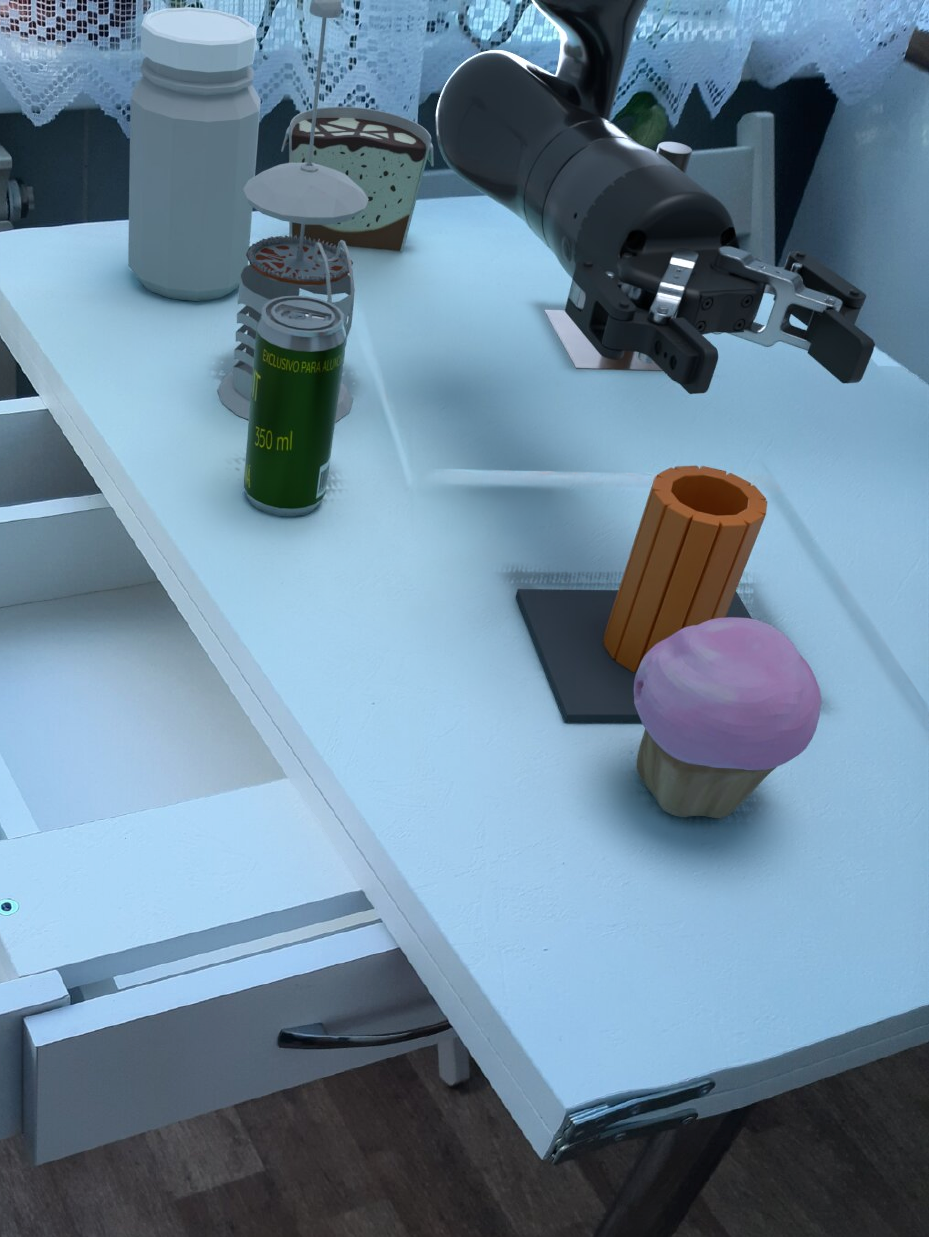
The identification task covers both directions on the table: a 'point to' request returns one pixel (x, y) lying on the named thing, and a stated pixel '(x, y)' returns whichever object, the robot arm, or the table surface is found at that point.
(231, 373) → the french press
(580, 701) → the mat
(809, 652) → the table surface
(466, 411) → the table surface
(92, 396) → the table surface
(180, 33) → the jar
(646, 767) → the cupcake
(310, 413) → the beer can
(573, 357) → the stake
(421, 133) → the food container
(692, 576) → the orange hollow cylinder
